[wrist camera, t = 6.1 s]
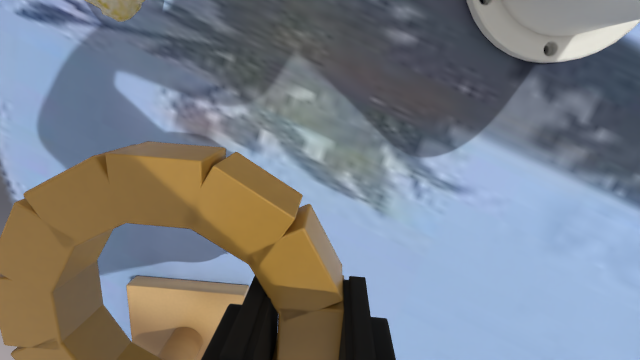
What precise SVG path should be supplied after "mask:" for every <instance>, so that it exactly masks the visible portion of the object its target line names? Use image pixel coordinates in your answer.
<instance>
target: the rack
mask: <svg viewBox="0 0 640 360" xmlns="http://www.w3.org/2000/svg"><path fill="white" fill-rule="evenodd" d="M248 290H249V286H248V285H238V284H226V283H215V282H203V281H192V280H180V279H169V278H157V277H146V276H136V277H135V278H134V279H133V280H131V281H130V282H129V283H128V284H127V296H128V306H129V316H130V326H131V335H132V342H133V343H135V344H137V345H138V346H140V347H142V348H144V349H146V350H147V351H149V352H151V353H153V354H155V355H156V356H158V357H160V358H162V359H164V360H201V358H202V357H203V355H204V353H205V351H206V349H207V347H208V345H209V343H210V341H211V339H212V337H213V335H214V333H215V331H216V329H217V327H218V325H219V323H220V321H221V319H222V317H223V315H224V313H225V311H226V309H227V307H228V305H229V304H241V305H242V304H243V301H244V299H245V297H246V295H247V292H248Z"/></svg>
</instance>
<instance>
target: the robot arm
mask: <svg viewBox="0 0 640 360" xmlns="http://www.w3.org/2000/svg"><path fill="white" fill-rule="evenodd" d="M466 1H467V4H468V7H469V9H470V12H471V14H472V17H473V19H474V21H475V23H476V24H477V26H478V27H479V29H480V30H481V32H482V33H483V35H484V36H485V37H486V38H487V39H488V40H489V41H490V42H491V43H492V44H493V45H494V46H496V47H497V48H499V49H500V50H502V51H504V52H505V53H507V54H508V55H510V56H513V57H516V58H519V59H522V60H525V61H530V62H538V63H552V62H563V61H569V60H574V59H580V58H582V57H585V56H588V55H591V54H593V53H596V52H599V51H600V50H602V49H604V48H606V47H608V46H609V45H611V44H613V43H615V42H617V41H618V40H619V39H620V38H622V37H623V36H624V35H625V34H627V33H628V32H629V31H631V30H632V29H633V28H634V27H635V26H636V25H637V24H638V23H639V22H640V0H483V4H481V3H480V1H479V0H466ZM544 48H545V52H544ZM343 302H344V314H343V323H342V332H341V341H340V351H339V360H396V359H395V354H394V349H393V344H392V340H391V335H390V330H389V325H388V321H387V319H386V318H376V317H371V316H370V309H369V302H368V295H367V288H366V280H365V277H354V276H350V277H349V280H343ZM277 328H278V313H277V311H276V309H275V308H274V306H273V304H272V303H271V298H269V297H268V296H267V294H266V292H265V291H264V289H263V287H262V286H261V284H260V282H259V281H258V279H257V277H256V276H255V277H254V279H253V281H252V283H251V286H250V288H249V290H248V292H247V295H246V297H245V299H244V301H243V304H242V305H241V304H229V305H228V307H227V309H226V311H225V313H224V315H223V317H222V319H221V321H220V323H219V325H218V327H217V329H216V331H215V333H214V335H213V337H212V339H211V341H210V343H209V345H208V347H207V349H206V351H205V353H204V355H203V357H202V358H201V360H272V357H273V353H274V349H275V345H276V341H277Z"/></svg>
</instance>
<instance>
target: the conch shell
mask: <svg viewBox="0 0 640 360" xmlns="http://www.w3.org/2000/svg"><path fill="white" fill-rule="evenodd" d="M85 1H87V2H89V3H91V4H93V5H95V6H97V7H98V8H100V9H101V11H102V14H104V15H106V16H109V17H111V18H113V19H115V20H116V21H118V22H123V21H126V20H129V19H131V18H132V17H133V16H134V15H135V14H136V13H137V12H138V11H139V10H140V9H141V6H142V3H143V2H144V1H145V0H85Z"/></svg>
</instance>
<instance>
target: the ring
mask: <svg viewBox="0 0 640 360" xmlns="http://www.w3.org/2000/svg"><path fill="white" fill-rule="evenodd" d="M23 195H24V197H25V199H22V200H20V201H17V202H15V203H14V205H13V208H12V210H11V213H10V215H9V218H8V220H7V222H6V225H5V227H4V230H3V232H2V234H1V237H0V329H1V333H2V337H3V342H4V344H5V345H8V346H17V348H16V349H15V350H14V351H13V352H12V353H11V356H12V357H13V358H14V359H15V360H164V359H162V358H160V357H158V356H156V355H155V354H153V353H151V352H149V351H147V350H146V349H144V348H142V347H140V346H138V345H137V344H135V343H133V342H131V341H130V339H129V338H128V337H127V335H126V334H125V333H124V331H123V330H122V329H121V327H120V326H119V325H118V323H117V322H116V321H115V319H114V318H113V317H112V315H111V314H110V313H109V311H108V310H107V309H106V307H105V306H104V305H103V299H102V291H101V284H100V277H99V269H98V262H97V259H98V257H99V255H100V253H101V252H102V250H103V248H104V246H105V244H106V242H107V240H108V238H109V236H110V234H111V233H112V231H113V229H114V228H116V227H118V226H120V225H123V224H125V223H132V224H143V225H154V226H165V227H176V228H187V229H192V230H193V231H195V232H197V233H198V234H200V235H201V236H203V237H205V238H206V239H208V240H210V241H211V242H213V243H214V244H216V245H218V246H219V247H221V248H223V249H224V250H226V251H228V252H229V253H231V254H232V255H234V256H236V257H237V258H239V259H241V260H242V261H244V262H245V263H247V264H249V266H250V267H251V269H252V271H253V272H254V274H255V276H256V277H257V279H258V281H259V282H260V284H261V286H262V287H263V289H264V291H265V292H266V294H267V296H268V297H269V298H271V303H272V304H273V306H274V308H275V309H276V311H277V313H278V333H277V341H276V345H275V349H274V353H273V357H272V360H339V351H340V341H341V332H342V323H343V314H344V302H343V280H344V276H343V275H342V264H341V262H340V260H339V258H338V256H337V255H336V253H335V251H334V249H333V247H332V245H331V243H330V241H329V239H328V237H327V235H326V233H325V231H324V229H323V228H322V226H321V224H320V222H319V220H318V218H317V216H316V214H315V212H314V210H313V208H312V206H311V205H310V204H307V205H304V206H302V207H300V208H299V205H300V202H301V199H302V196H303V195H302V194H300V193H299V192H297V191H296V190H294V189H293V188H291V187H290V186H288V185H286V184H285V183H283V182H282V181H280V180H279V179H277V178H276V177H274V176H273V175H271V174H270V173H268V172H267V171H265V170H264V169H262V168H261V167H259V166H258V165H256V164H254V163H253V162H251V161H250V160H248V159H247V158H245V157H244V156H242V155H241V154H239V153H238V152H235V153H233V154H232V155H230V156H229V157H227V158H226V149H225V148H223V147H210V146H198V145H186V144H174V143H161V142H149V141H148V142H144V143H141V144H137V145H136V144H135V145H130V146H127V147H123V148H119V149H116V150H112V151H109V152H105V153H102V154H98V155H94V156H92V157H90V158H88V159H86V160H84V161H82V162H80V163H79V164H77V165H75V166H73V167H71V168H69V169H67V170H66V171H64V172H62V173H60V174H58V175H56V176H54V177H52V178H51V179H49V180H47V181H45V182H43V183H41V184H39V185H38V186H36V187H34V188H32V189H30V190H28V191H26V192H25V193H24V194H23Z"/></svg>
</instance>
